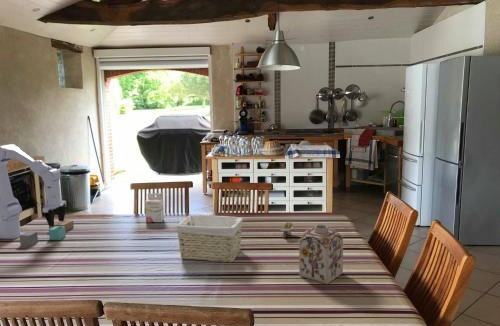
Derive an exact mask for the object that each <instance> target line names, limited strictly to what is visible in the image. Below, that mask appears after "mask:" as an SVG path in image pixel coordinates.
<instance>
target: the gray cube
mask: <svg viewBox="0 0 500 326" xmlns="http://www.w3.org/2000/svg"><path fill="white" fill-rule="evenodd" d="M22 233H23V234H21V235H19V243H20V244H19V245H20V246H21V247H33V246H34V245H36V244H38V243H39V238H38V232H37V231H25V232H22Z"/></svg>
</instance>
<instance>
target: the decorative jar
mask: <svg viewBox="0 0 500 326" xmlns="http://www.w3.org/2000/svg"><path fill="white" fill-rule="evenodd" d="M298 252H299V253H298V255H299V257H298V260H299V263H298V264H299V266H298V267H299V268H298V269H299V271H298V272H299V277H301V278H304V279H309V280H311V281H316V282H319V283H322V284H325V285H328V284H330V283H331V282H332V281H334V280H336V279H337V278H338V277H340V276H341V275H342V274H343V273H344V270H343V268H344V237H342V235H341V234H340V233H339V232H338V231H336V229H333V228H329V226H328V225H326V224H316V225H315V226H314V227H311V228H308V229H306V230H304V232H303V234H302V235H301V237H300V239H299V249H298Z"/></svg>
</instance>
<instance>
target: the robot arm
mask: <svg viewBox="0 0 500 326" xmlns="http://www.w3.org/2000/svg"><path fill="white" fill-rule="evenodd" d="M13 159H15V160H17V161H19V162H20V163H21V162H22V163H23V164H25V165H26V166H29V169H30V171H32V172H33V173H34V174H36V175H38V176H40V178H42V179H41V180H42V181H43V182H44V185H45V189H46V201H47V202H46V203H47V205H46V206H44V207H42V211H41V215H43V217H44V219H46V222H47V225H48V227H49V226H54V222H55V215H56V214H57V218H58V219H57V220H59V221H64V220H65V216H66V212H67V210H68V208H69V206H68V205H67V200H62V196H61V188H60V186H61V185H60V180H61V178H62V173H61V170H59V168H55V167H52V166H49V165H47V164H46V163H44V161H43V160H41V159H36V160H35V159H34V158H32V157H31V156H29V155H28V154H27V153H25V152H24V150H23V151H22V150H21V148H20V147H19V146H17V145H16V144H14V143H9V144H2V145H0V239H9V240H10V239H11V240H14V239H16V238H18V237H19V238H20V236H19V235H21V234H23V233H24V232H21V224H20V221H21V220H20V217H21V215H20V214H22V212H23V211H22V210H23V208H22V205H21V204H20V202H19V199H17V198H16V197H15V196H14V192H13V189H12V185H11V184H12V183H11V181H10V177H9V172H8V169H7V164H8V163H9V162H10V161H11V160H13ZM54 210H56V211H54Z"/></svg>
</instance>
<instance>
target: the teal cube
mask: <svg viewBox="0 0 500 326" xmlns="http://www.w3.org/2000/svg"><path fill="white" fill-rule="evenodd" d="M48 236H49V237H48V238H49V240H50V241H51V240H52V241H60V240H62V239H65V238H66V237H67V235H66V232H65V227H64V226H55V227H53V228H51V229H49V228H48Z"/></svg>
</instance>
